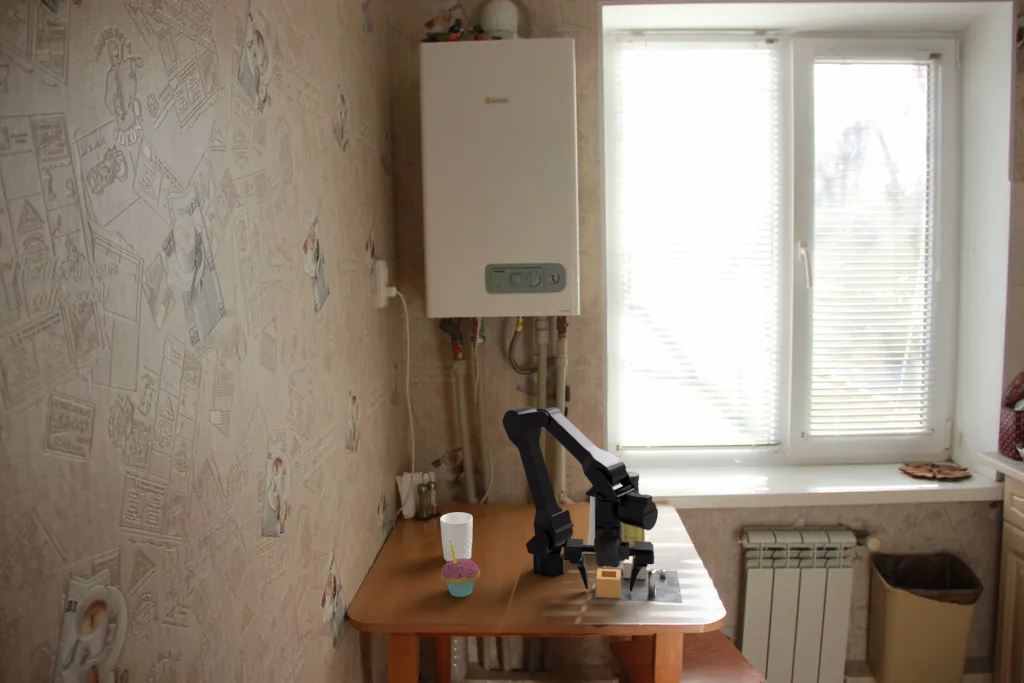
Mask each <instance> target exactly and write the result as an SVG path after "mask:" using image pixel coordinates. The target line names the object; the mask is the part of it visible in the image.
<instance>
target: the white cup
mask: <svg viewBox="0 0 1024 683" xmlns="http://www.w3.org/2000/svg"><path fill="white" fill-rule="evenodd" d="M439 520H440V531H441V532H440V536H441V544H442V551H443V559H444V561H446V562H448V561H452V560H453V557H452V551H451V546H450V544H451V543H453V546H454V551H455V556H456V559H457V558H459V559H463V558H465V559H470V560H471V558H472V546H473V529H474V527H473V521H474V519H473V515H472V514H470V513H467V512H459V511H458V512H457V511H456V512H449V513H446V514H443V515H442V516H440V519H439ZM450 540H451V542H450Z"/></svg>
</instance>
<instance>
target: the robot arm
mask: <svg viewBox="0 0 1024 683" xmlns="http://www.w3.org/2000/svg"><path fill="white" fill-rule="evenodd" d="M502 425H503V426H502V427H503V428H504V431H505V433H506V436H507V438H508V439H509V441H510V442H511V443H512V444H513V445H514V446H515V447H516V448H517V450H518V453H519V456H520V460H521V463H522V467H523V470H524V473H525V477H526V481H527V484H528V488H529V491H530V494H531V497H532V500H533V504H534V507H535V514H534V519H533V530H534V536H532V537H531V538H530V539H529V540H528V541H527V542H526V543H525V547H526V550H527V553H528V554H529V555H530V554H531V555H532V560H533V561H532V562H533V565H532V568H533V569H532V570H533V572H532V573H533V574H536V575H538V576H540V577H548V578H550V577H555V576H561V575H564V574H565V562H567V561H568V562H569V564H570V565H574V566H575V567H576V568H577V570H578V572H579V574H580V576H581V579H582V582H583V585H584V587H585V590H589V577H588V576H589V575H588V569H587V568H588V567H587V559H586V555H595V564H596V566H597V567H598V568H604V567H611V568H618V567H620V564H621V562H623V561H625V560H629V556H633V559H632V567H631V575H630V592H632V589H633V586H634V583H635V581H636V578H637V575H638V573H639V571H640V570H641V569H642V568H643V567H646V568H647V567H648V565H654V564H655V549H654V544H653V543H652V542H651V541H645V542H643V541H635V543H634V547H629V542H623V541H622V523H623V524H626V525H630V526H634V527H637V528H641V529H645V531H651V530H653V528H654V527H655V526H656V524H657V520H658V516H659V515H658V514H659V509H658V508H657V505H656V503H655V502H654V501H653V496H652V495H649V494H641V493H640V494H638V493H633V492H635V491H637V488H636V486H635V485H634V483H633V481H632V480H631V478H630V476H629V474H628V473H627V472H628V471H627V466H626V464H625V462H623V460H621V459H620V458H618V457H617V456H615V455H614V454H613V453H611V452H609V451H607V450H605V449H601V448H599V447H598V446H596V445H595V444H594V443H593V442H592V441H591V440H590V439H589V438H588V437H587V436H586V435H584V434H583V432H582V431H581V430H579V429H578V428H577V427H576V426H575V425H574V424H573V423H572V422H571V421H570V420H569V419H568V418H567V417H566V416H565V415H563V413H562V411H561V410H560V408H558V407H555V406H552V407H551V406H550V407H544V408H543V407H541V408H534V407H533V406H531V405H525V406H520V407H517V408H513V409H509V410H507V411H506V412H505V413H504V416H503V418H502ZM542 428H544V429H545V430H546V431H547V432H548V433H549V435H550V434H551V436H552V437H553V438H555V439H556V441H557V442H558V443H559V444H561V445H562V447H563V448H565V450H566V451H568V452H569V453H570V454H571V455H572V456H573V458H574V459H575V460H577V461H578V462H579V464H580V465H581V467H582V470H583V471H582V472H583V474H584V477H586V478H587V480H588V481H589V483H590V484H591V487H590V488H589V489H588V490H587V491H586V492H585V495H586V496H589V497H590V496H592V497H595V539H594V545H587V544H584V539H583V538H572V537H573V535H574V530H573V527H575V525H574V523H573V521H572V518H571V514H570V511H569V510H568V509H567V508H566V509H564V510H563V508H561V506H560V505H558V503H557V500H556V497H555V492H554V490H553V486H552V482H551V480H550V476H549V472H548V469H547V465H546V462H545V458H544V456H543V452H542V451H543V450H542V449H541V445H540V439H541V433H542ZM592 485H593V486H592ZM618 485H622V486H620V487H617V488H615V489H614V487H616V486H618Z"/></svg>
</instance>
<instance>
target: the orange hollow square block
mask: <svg viewBox="0 0 1024 683" xmlns="http://www.w3.org/2000/svg"><path fill="white" fill-rule="evenodd" d="M617 569H618V568H614V569H597V568H596V572H597V597H607V598H621V570H617Z"/></svg>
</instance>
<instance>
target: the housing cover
mask: <svg viewBox="0 0 1024 683" xmlns="http://www.w3.org/2000/svg"><path fill="white" fill-rule="evenodd" d="M632 559H633V556H629V560H625V561H622V566H623V567H622V569H623V578H630V575H631V567H632ZM646 570H647V567H643V568H642V569H641V570H640V571H639V573H638V575H637V578H642V579H646Z"/></svg>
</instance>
